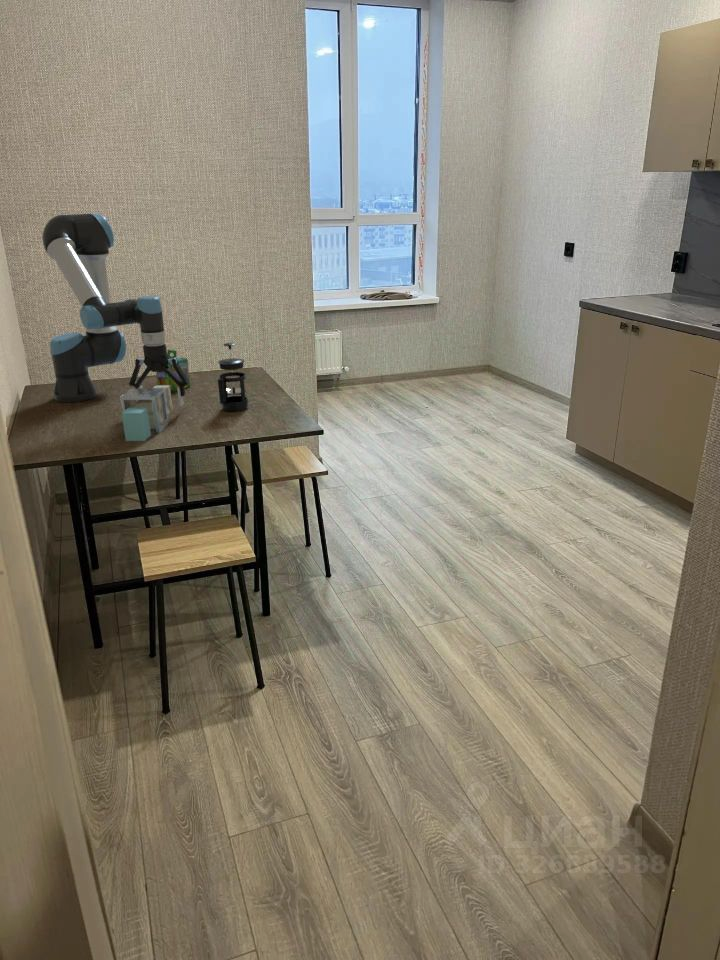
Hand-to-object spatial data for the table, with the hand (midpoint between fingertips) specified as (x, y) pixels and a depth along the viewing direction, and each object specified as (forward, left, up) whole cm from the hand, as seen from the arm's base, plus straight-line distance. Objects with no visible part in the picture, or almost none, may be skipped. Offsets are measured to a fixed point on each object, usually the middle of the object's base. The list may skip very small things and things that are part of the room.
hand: (162, 405), depth 243 cm
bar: (0, -7, -3) cm, 7 cm away
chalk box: (-6, +34, -3) cm, 35 cm away
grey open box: (0, -17, -3) cm, 17 cm away
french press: (+24, +5, -3) cm, 25 cm away
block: (0, -27, -3) cm, 27 cm away
